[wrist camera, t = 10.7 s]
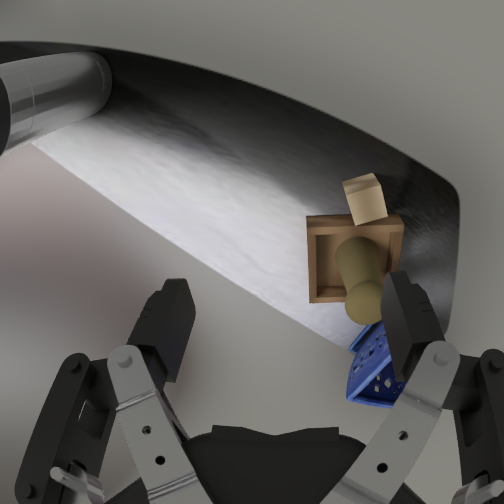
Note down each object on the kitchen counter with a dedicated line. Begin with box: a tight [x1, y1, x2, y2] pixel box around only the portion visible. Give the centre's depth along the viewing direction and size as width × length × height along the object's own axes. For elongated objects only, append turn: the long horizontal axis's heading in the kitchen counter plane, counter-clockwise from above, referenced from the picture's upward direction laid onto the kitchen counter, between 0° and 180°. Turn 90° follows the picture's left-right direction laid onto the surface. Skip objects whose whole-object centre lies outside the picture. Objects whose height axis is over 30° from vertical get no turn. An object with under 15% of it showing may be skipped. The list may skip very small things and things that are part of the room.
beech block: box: [342, 173, 388, 226], centre depth 34 cm, size 4×4×4 cm
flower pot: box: [346, 320, 406, 409], centre depth 43 cm, size 13×13×12 cm
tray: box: [306, 213, 404, 303], centre depth 39 cm, size 12×12×3 cm
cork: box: [335, 237, 384, 325], centre depth 36 cm, size 6×6×11 cm
